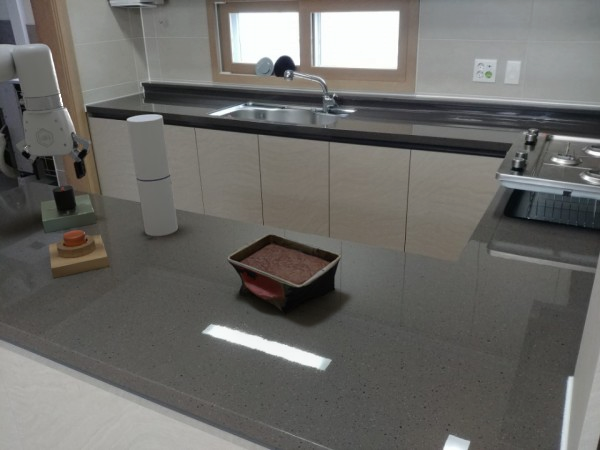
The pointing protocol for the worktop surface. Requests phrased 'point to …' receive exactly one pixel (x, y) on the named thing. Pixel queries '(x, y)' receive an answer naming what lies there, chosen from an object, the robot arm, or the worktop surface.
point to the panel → (67, 215)
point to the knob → (64, 197)
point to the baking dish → (284, 270)
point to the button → (74, 238)
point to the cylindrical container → (153, 174)
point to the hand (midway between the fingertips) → (61, 177)
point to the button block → (78, 257)
